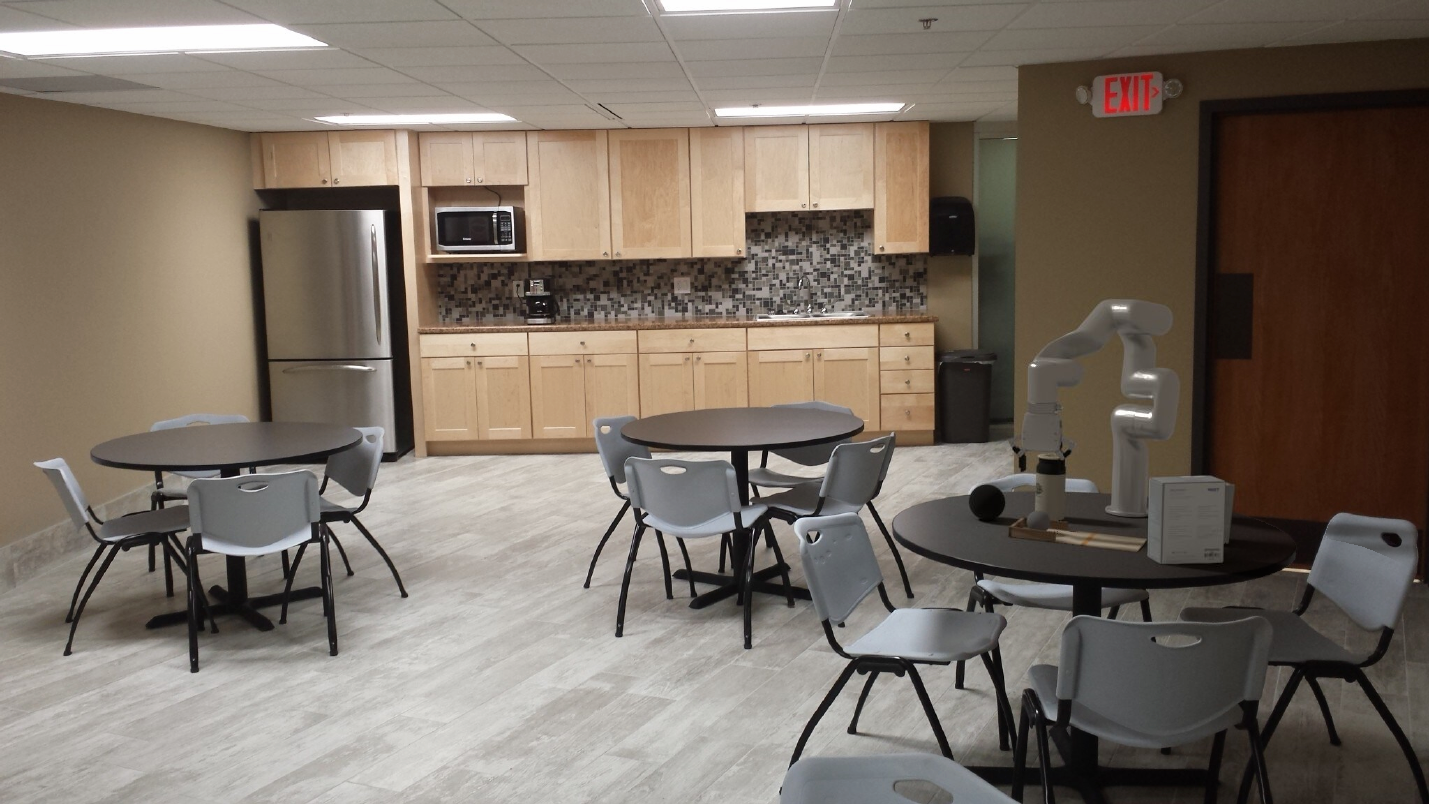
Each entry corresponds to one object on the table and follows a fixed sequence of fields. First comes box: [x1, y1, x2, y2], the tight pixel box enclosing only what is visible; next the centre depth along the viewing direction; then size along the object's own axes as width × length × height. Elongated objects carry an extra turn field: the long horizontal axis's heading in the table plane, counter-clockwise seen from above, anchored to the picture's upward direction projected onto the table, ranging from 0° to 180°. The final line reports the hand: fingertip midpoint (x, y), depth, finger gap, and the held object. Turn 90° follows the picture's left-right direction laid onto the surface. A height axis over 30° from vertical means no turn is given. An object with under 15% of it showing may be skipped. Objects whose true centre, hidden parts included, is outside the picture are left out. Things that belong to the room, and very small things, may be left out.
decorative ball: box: [968, 483, 1006, 521], centre depth 302 cm, size 10×10×10 cm
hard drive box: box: [1147, 475, 1227, 565], centre depth 257 cm, size 16×8×20 cm, turn 92°
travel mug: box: [1034, 453, 1067, 521], centre depth 302 cm, size 8×8×18 cm
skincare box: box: [1223, 482, 1236, 545], centre depth 276 cm, size 8×7×16 cm
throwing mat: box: [1008, 516, 1148, 553], centre depth 280 cm, size 14×32×3 cm, turn 59°
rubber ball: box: [1027, 510, 1050, 531], centre depth 285 cm, size 6×6×6 cm
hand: (1041, 472), depth 284 cm, fingers open, 9 cm apart
